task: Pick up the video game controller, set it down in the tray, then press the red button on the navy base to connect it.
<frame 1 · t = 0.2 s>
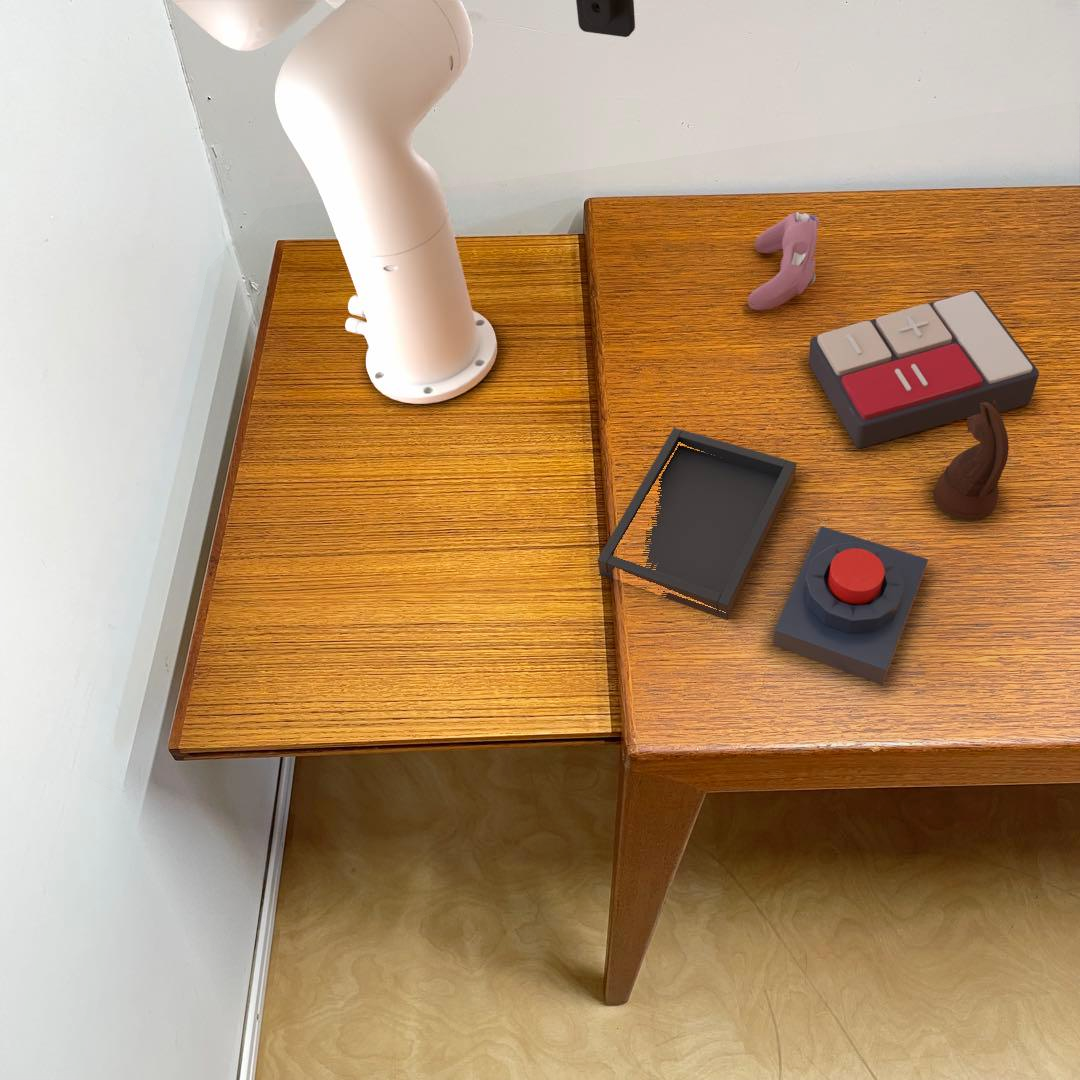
tray: (699, 526, 79), on the table
calculator: (914, 384, 85), on the table
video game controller: (782, 282, 95), on the table
button base: (848, 610, 73), on the table
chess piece: (964, 502, 77), on the table
button: (855, 576, 69), point 4 cm above the table, slide at 0.1 cm
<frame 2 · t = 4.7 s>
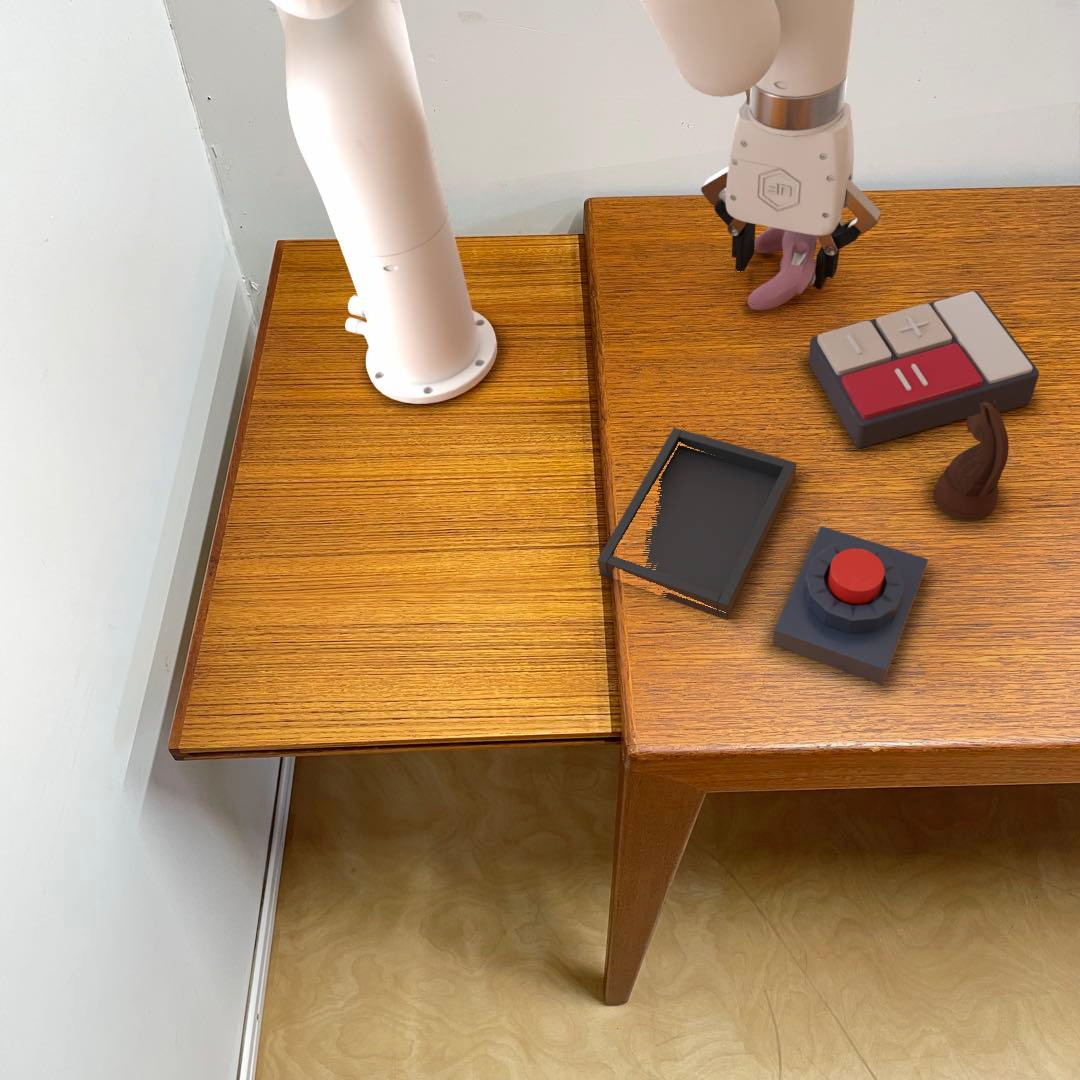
hand: (783, 270, 94), 1 cm above the table, tool pointing down, fingers closed on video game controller, 7 cm apart
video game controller: (782, 282, 95), on the table, touching gripper
everything else where it was.
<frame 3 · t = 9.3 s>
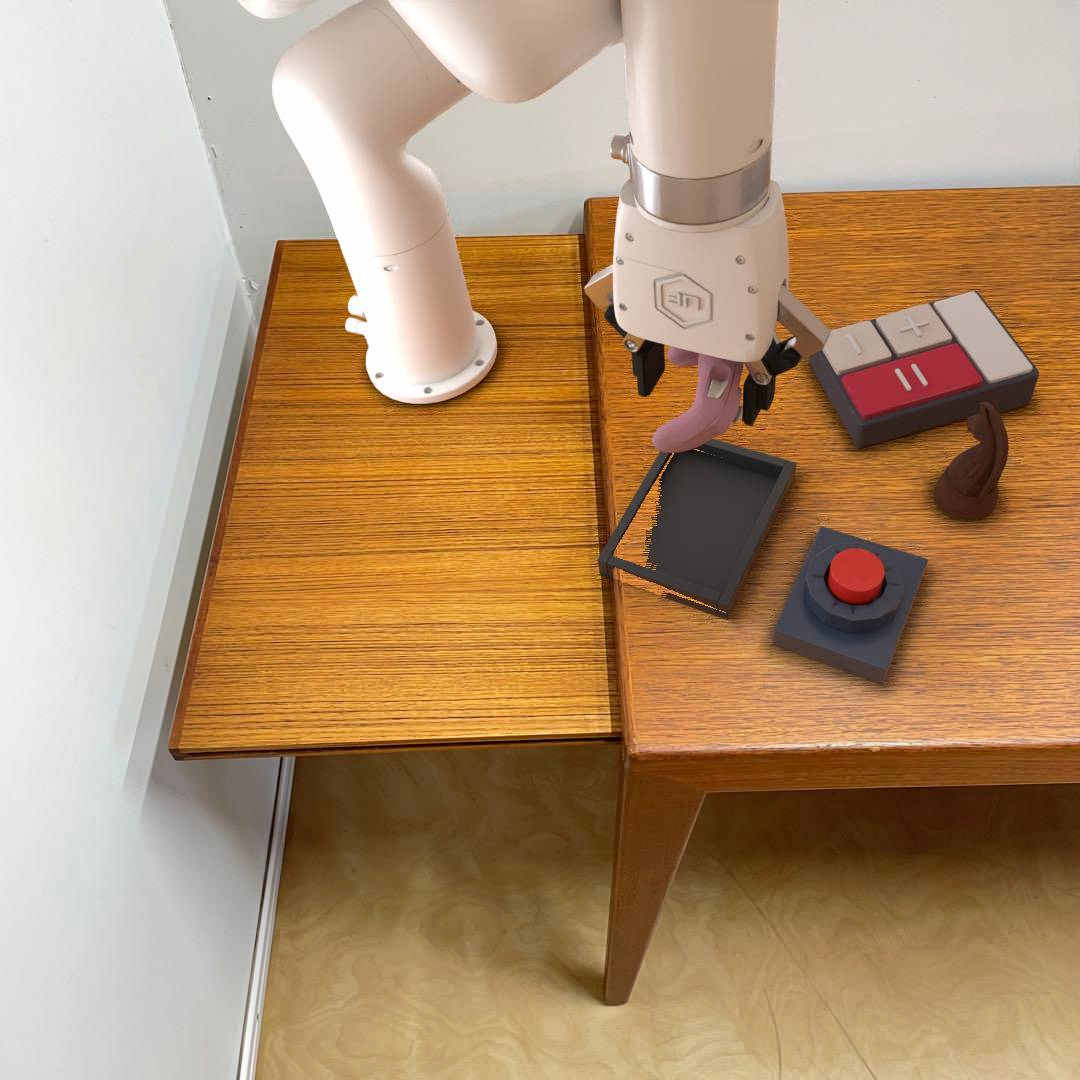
hand: (702, 395, 68), 14 cm above the table, tool pointing down, fingers closed on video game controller, 7 cm apart
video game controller: (702, 409, 70), point 12 cm above the table, touching gripper
everything else where it was.
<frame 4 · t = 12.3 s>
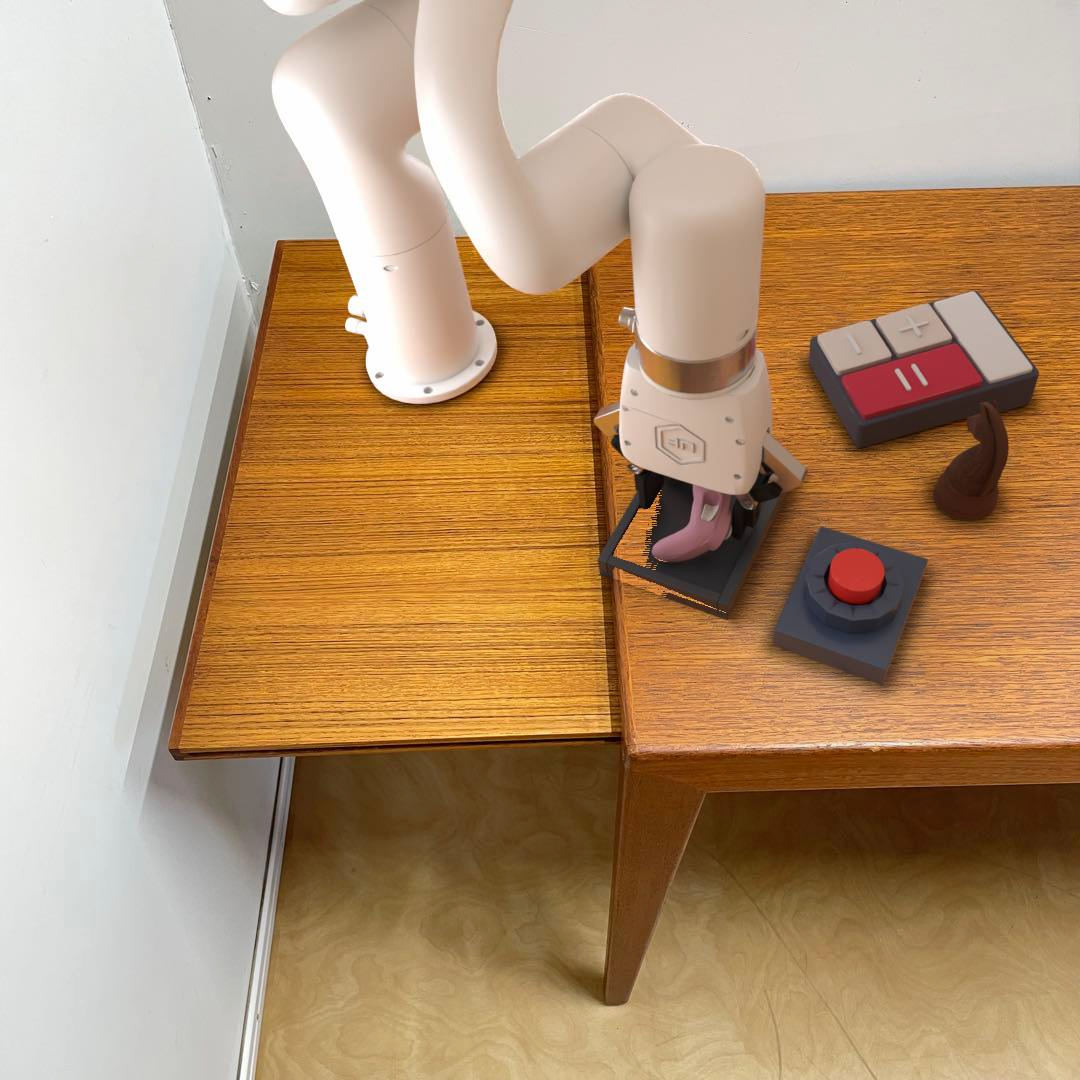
hand: (696, 509, 77), 2 cm above the table, tool pointing down, fingers closed on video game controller, 7 cm apart
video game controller: (696, 520, 79), point 1 cm above the table, touching gripper
everything else where it was.
when the fingers open (2 cm above the table, at t = 14.0 s): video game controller stays where it is, resting on tray.
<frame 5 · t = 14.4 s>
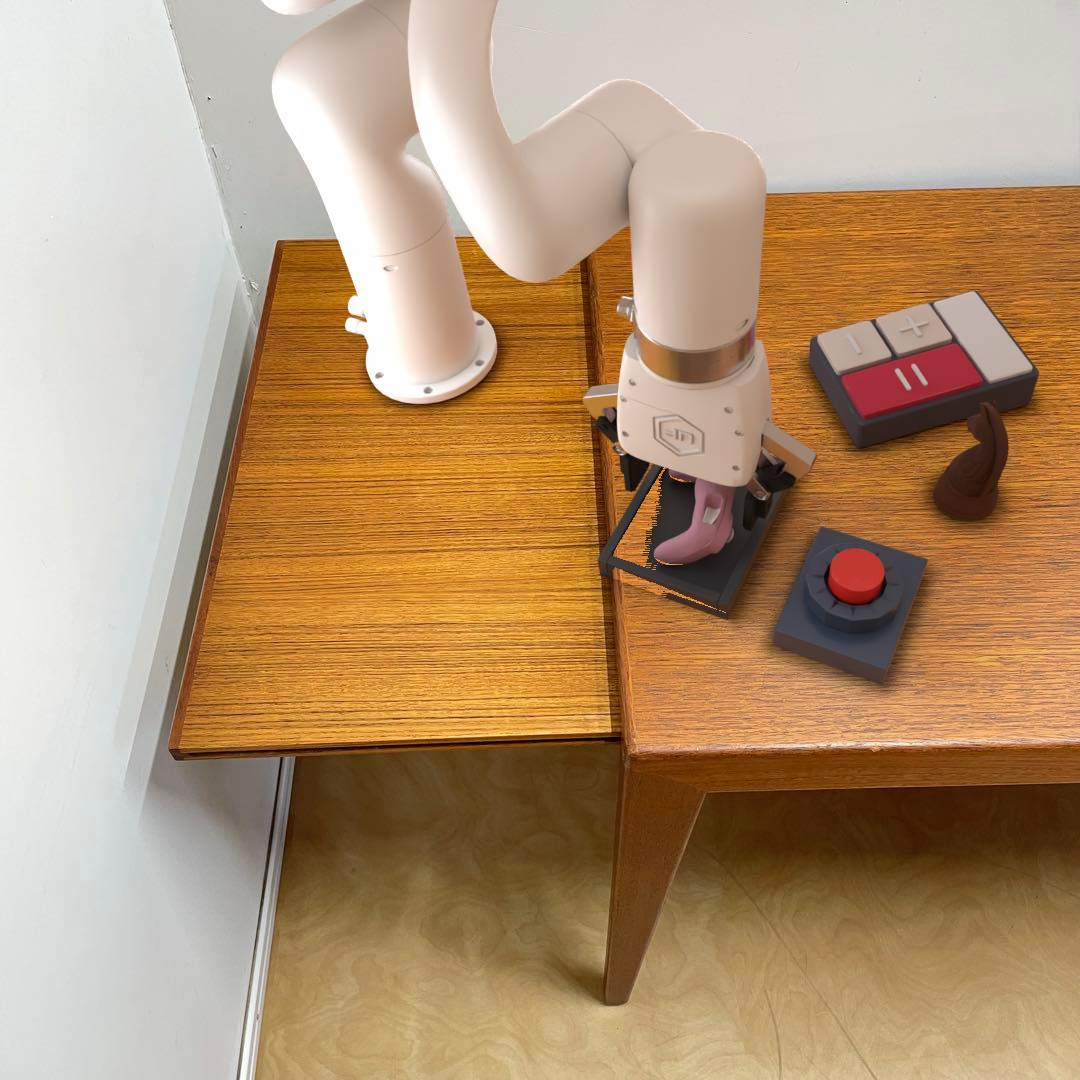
hand: (694, 496, 76), 3 cm above the table, tool pointing down, fingers open, 9 cm apart
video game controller: (698, 523, 79), resting on tray
everything else where it was.
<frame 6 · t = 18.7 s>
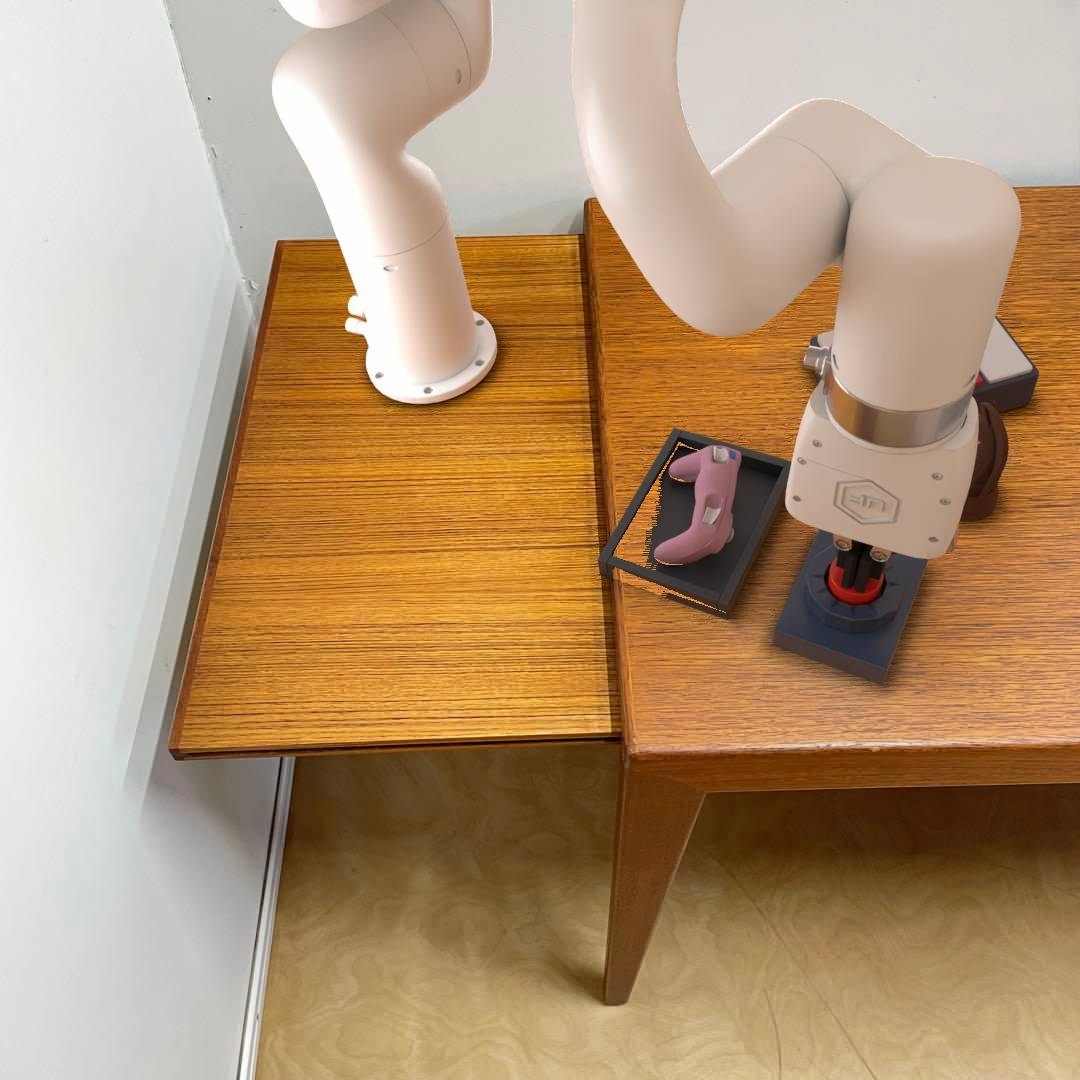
hand: (858, 574, 69), 5 cm above the table, tool pointing down, fingers closed
button: (855, 580, 69), point 4 cm above the table, slide at -0.4 cm, touching gripper
everything else where it was.
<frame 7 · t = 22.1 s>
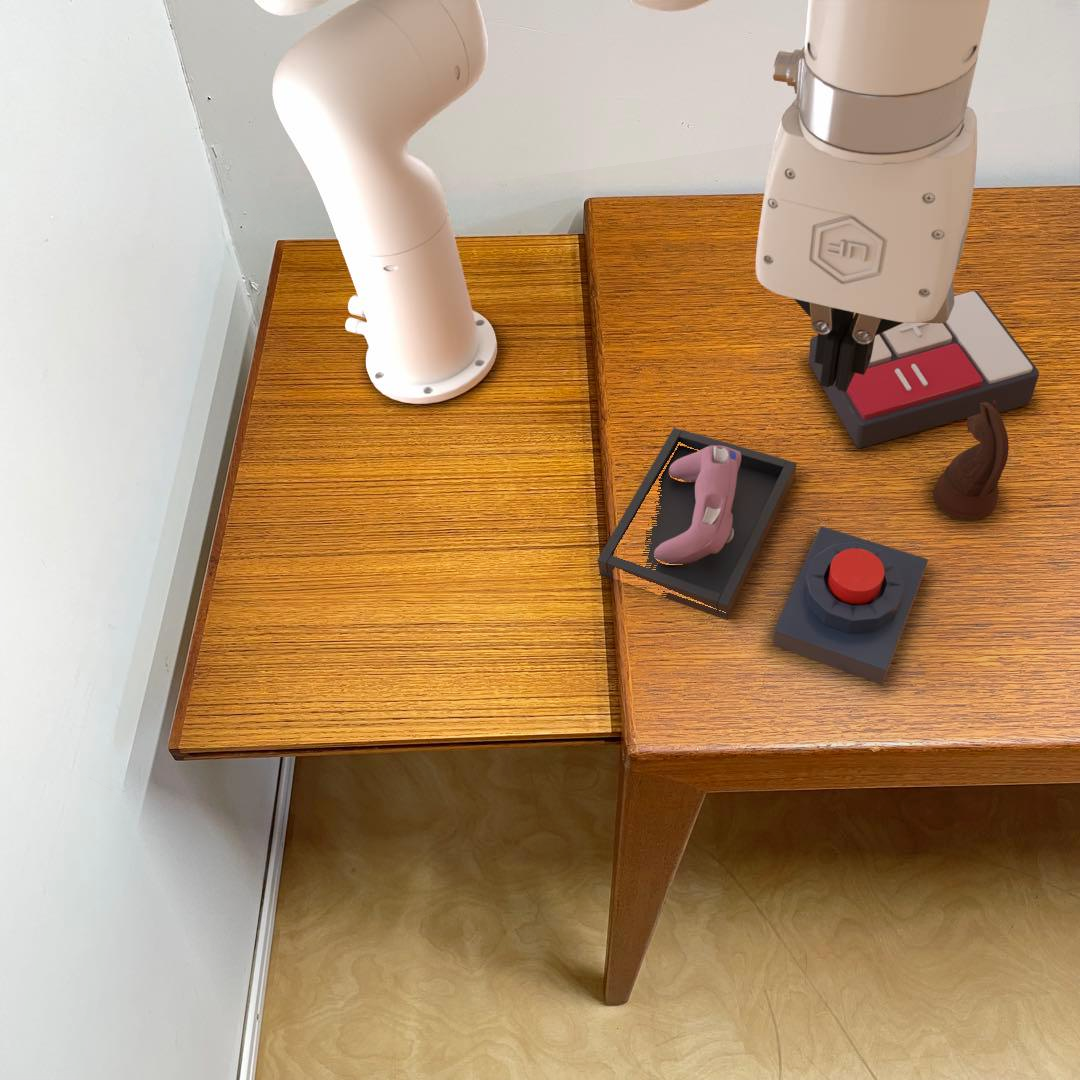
hand: (840, 373, 61), 19 cm above the table, tool pointing down, fingers closed
button: (855, 576, 69), point 4 cm above the table, slide at 0.1 cm
everything else where it was.
at the end: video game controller inside the target area in the tray (0.0 cm from its centre), point 0.4 cm above the tray's base; button pushed in 1.1 cm at the most during the clip, back to where it started at the end; button slide at 0.1 cm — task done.
